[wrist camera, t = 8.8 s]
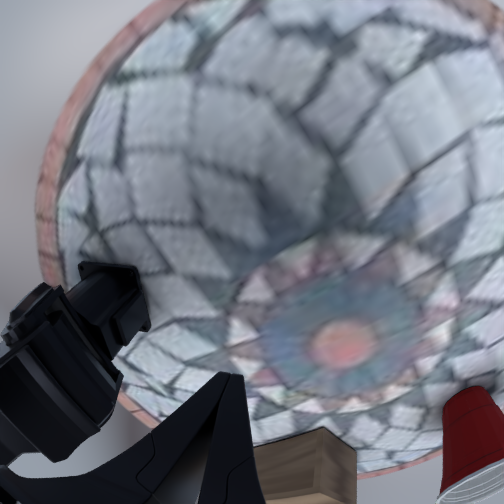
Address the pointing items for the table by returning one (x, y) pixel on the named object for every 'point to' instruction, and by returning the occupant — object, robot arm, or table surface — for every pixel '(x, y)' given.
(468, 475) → the plastic cup
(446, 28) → the table surface
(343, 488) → the brown box
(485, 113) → the table surface
